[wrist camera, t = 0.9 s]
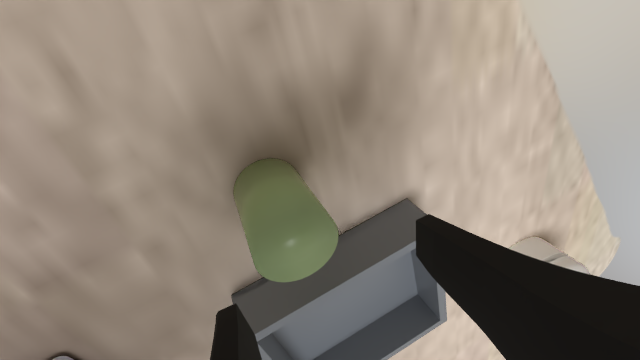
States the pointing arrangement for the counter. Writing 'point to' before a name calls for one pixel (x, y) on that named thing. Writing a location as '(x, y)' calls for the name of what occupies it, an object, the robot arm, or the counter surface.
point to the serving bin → (351, 297)
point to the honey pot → (547, 253)
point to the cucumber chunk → (283, 221)
